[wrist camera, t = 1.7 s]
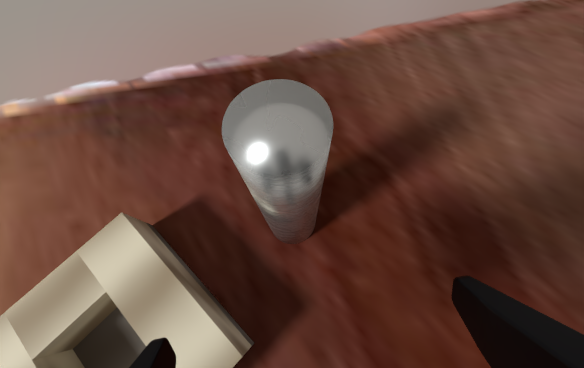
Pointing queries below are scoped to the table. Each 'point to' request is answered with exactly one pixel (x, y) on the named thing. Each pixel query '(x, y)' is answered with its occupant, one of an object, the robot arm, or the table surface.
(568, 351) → the robot arm
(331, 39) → the table surface
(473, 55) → the table surface
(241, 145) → the steel pin
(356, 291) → the table surface
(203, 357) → the socket block
